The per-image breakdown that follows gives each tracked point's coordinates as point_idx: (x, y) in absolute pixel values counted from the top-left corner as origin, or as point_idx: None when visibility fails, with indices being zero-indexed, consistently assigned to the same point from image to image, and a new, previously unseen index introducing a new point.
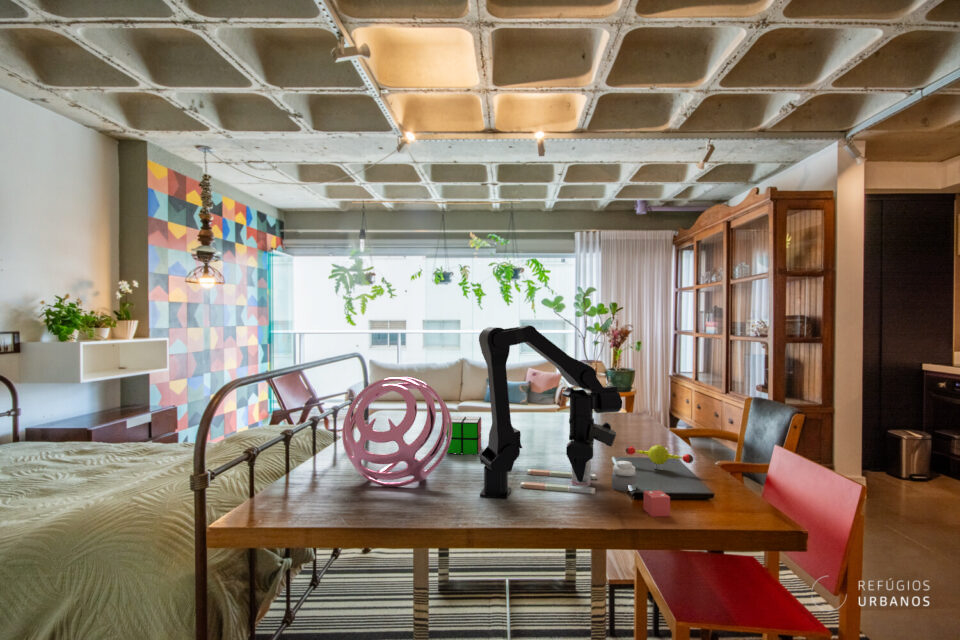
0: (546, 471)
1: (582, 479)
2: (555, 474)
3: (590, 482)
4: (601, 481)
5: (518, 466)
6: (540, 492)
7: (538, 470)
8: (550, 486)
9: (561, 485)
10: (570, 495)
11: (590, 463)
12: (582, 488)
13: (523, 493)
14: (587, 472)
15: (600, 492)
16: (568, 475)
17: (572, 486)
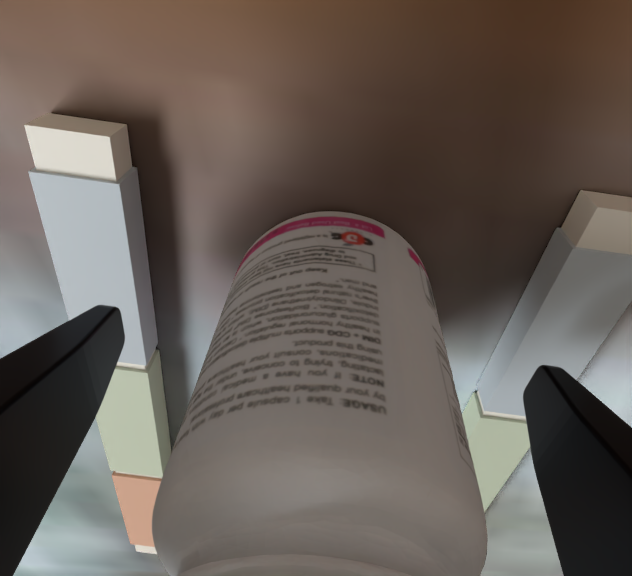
0: (147, 493)
1: (581, 389)
2: (163, 444)
3: (371, 228)
4: (185, 49)
5: (52, 551)
6: (520, 515)
7: (143, 521)
8: (489, 501)
9: (478, 453)
10: (628, 392)
11: (370, 412)
12: (591, 332)
13: (523, 564)
14: (441, 357)
15: (626, 129)
16: (153, 374)
17: (515, 395)
